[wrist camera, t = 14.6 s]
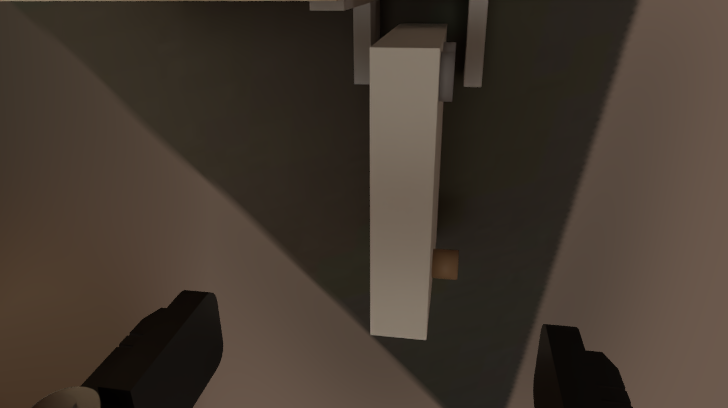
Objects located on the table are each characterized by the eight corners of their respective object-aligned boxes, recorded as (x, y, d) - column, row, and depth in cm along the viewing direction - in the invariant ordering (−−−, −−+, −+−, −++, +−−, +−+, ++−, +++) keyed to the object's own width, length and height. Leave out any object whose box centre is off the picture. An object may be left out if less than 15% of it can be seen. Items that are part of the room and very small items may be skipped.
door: (400, 23, 27) (369, 47, 18) (471, 23, 27) (476, 49, 18) (396, 233, 32) (370, 334, 23) (456, 237, 32) (454, 342, 22)
